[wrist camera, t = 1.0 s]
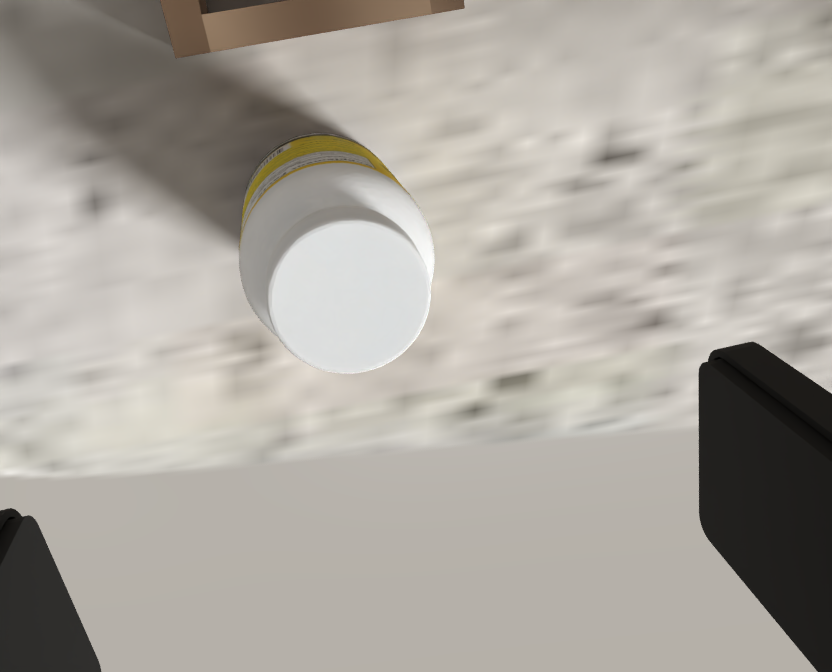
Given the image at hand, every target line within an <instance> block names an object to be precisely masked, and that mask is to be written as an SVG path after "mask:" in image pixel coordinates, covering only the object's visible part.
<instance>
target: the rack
mask: <svg viewBox="0 0 832 672" xmlns="http://www.w3.org/2000/svg"><path fill="white" fill-rule="evenodd" d="M160 2H161V6H162V9H163V13H164V17H165V21H166V24H167V28H168V32H169V36H170V39H171V43H172V47H173V50H174V54H175V58H181V57H186V56H192V55H198V54H204V53H209V52H215V51H221V50H227V49H233V48H238V47H244V46H250V45H256V44H261V43H267V42H273V41H279V40H285V39H290V38H296V37H302V36H308V35H313V34H319V33H325V32H331V31H337V30H342V29H348V28H354V27H360V26H365V25H371V24H377V23H383V22H389V21H394V20H400V19H406V18H412V17H418V16H423V15H429V14H435V13H441V12H446V11H452V10H458V9H464V8H465V7H464V0H286V1H280V2H274V3H268V4H263V5H257V6H251V7H245V8H239V9H233V10H227V11H221V12H215V13H208V9H207V4H206V0H160Z"/></svg>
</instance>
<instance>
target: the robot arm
mask: <svg viewBox="0 0 832 672" xmlns="http://www.w3.org/2000/svg"><path fill="white" fill-rule="evenodd" d="M699 516H700V521H701V525H702V528H703V530H704V533H705V535H706V537H707V538H708V539H709V541H710V542H711V543H712V545H713V546H714V547H715V548H716V549H717V551H718V552H719V553H720V554H721V555H722V557H723V558H724V559H725V560H726V561H727V563H728V564H729V565H730V566H731V567H732V569H733V570H734V571H735V572H736V574H737V575H738V576H739V577H740V578H741V580H742V581H743V582H744V583H745V584H746V586H747V587H748V588H749V589H750V590H751V592H752V593H753V594H754V595H755V596H756V598H757V599H758V600H759V601H760V603H761V604H762V605H763V606H764V607H765V609H766V610H767V611H768V612H769V613H770V614H771V616H772V617H773V618H774V619H775V621H776V622H777V623H778V624H779V625H780V627H781V628H782V629H783V630H784V631H785V633H786V634H787V635H788V636H789V637H790V639H791V640H792V641H793V642H794V643H795V645H796V646H797V647H798V648H799V650H800V651H801V652H802V653H803V654H804V656H805V657H806V658H807V659H808V660H809V661H810V663H811V664H812V665H813V666H814V668H815V669H816V670H817V671H818V672H832V394H831V393H830V392H828V391H827V390H825V389H824V388H822V387H821V386H819V385H818V384H816V383H815V382H813V381H812V380H811V379H809V378H808V377H806V376H805V375H803V374H802V373H800V372H799V371H797V370H796V369H794V368H793V367H791V366H790V365H789V364H787V363H786V362H784V361H783V360H781V359H780V358H778V357H777V356H775V355H774V354H772V353H771V352H769V351H768V350H767V349H765V348H764V347H762V346H761V345H759V344H757V343H755V342H748V343H743V344H739V345H734V346H730V347H726V348H721V349H717V350H714V351H712V352H711V353H710V356H709V359H708V362H704V363H702V364H701V366H700V368H699ZM0 672H101V668H100V664H99V661H98V659H97V657H96V654H95V652H94V650H93V647H92V645H91V643H90V641H89V638H88V636H87V634H86V632H85V629H84V627H83V625H82V623H81V620H80V618H79V616H78V614H77V612H76V609H75V607H74V605H73V602H72V600H71V598H70V596H69V593H68V591H67V589H66V587H65V584H64V582H63V580H62V577H61V575H60V573H59V571H58V569H57V566H56V564H55V562H54V559H53V557H52V555H51V553H50V550H49V548H48V546H47V544H46V541H45V539H44V537H43V535H42V533H41V530H40V528H39V525H38V524H37V522H36V521H35V519H34V518H33V517H32V516H24V517H22V516H21V515H20V513H19V512H17V511H16V510H15V509H12V508H10V509H5V510H1V511H0Z"/></svg>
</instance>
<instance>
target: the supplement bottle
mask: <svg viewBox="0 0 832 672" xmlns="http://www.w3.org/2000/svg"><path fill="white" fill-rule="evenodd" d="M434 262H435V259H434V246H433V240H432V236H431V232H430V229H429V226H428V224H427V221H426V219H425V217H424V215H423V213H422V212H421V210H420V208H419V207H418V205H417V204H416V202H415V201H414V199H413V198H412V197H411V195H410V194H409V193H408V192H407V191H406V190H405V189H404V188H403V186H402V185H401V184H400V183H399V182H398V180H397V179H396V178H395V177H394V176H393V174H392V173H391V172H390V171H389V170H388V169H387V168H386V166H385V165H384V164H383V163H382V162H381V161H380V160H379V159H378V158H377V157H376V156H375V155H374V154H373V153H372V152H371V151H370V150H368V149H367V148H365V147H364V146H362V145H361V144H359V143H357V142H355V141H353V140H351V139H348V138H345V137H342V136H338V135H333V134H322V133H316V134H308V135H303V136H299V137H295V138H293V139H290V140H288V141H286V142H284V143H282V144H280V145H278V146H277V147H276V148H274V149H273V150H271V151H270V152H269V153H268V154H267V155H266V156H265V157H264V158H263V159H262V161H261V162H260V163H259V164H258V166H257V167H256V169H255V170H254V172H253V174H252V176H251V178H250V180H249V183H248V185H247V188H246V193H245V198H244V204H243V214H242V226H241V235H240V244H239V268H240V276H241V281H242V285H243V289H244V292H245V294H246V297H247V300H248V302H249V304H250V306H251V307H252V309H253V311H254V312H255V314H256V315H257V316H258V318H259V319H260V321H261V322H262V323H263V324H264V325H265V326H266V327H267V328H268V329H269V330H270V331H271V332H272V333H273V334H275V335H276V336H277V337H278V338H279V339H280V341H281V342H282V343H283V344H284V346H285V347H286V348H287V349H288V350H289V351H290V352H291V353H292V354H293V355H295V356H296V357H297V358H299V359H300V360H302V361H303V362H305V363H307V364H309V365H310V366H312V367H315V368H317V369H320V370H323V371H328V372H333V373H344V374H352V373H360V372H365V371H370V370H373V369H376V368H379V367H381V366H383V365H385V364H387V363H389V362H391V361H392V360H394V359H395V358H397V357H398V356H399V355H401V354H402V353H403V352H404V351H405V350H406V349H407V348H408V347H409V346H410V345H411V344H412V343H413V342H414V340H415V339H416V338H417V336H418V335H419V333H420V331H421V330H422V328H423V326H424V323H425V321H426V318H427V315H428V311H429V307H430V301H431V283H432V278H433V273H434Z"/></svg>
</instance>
